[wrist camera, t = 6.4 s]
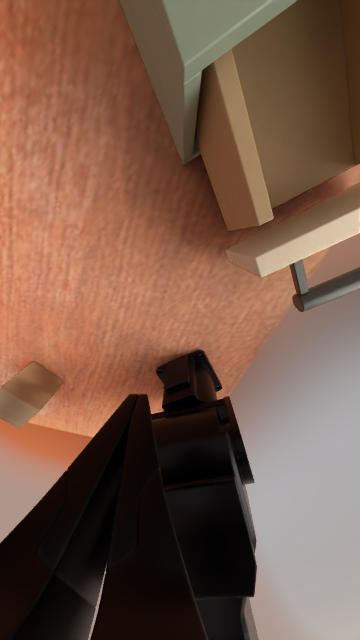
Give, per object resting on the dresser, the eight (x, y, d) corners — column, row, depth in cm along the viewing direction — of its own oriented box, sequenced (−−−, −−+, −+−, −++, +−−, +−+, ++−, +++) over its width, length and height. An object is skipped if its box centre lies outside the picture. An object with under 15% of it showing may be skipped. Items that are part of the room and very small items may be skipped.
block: (64, 381, 24) (39, 411, 20) (45, 397, 25) (19, 428, 21) (33, 360, 23) (0, 387, 18) (15, 378, 24) (-19, 407, 20)
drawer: (369, 252, 16) (501, 262, 9) (245, 306, 18) (281, 344, 12) (346, -79, 9) (733, -827, 3) (157, 67, 12) (123, -160, 5)
